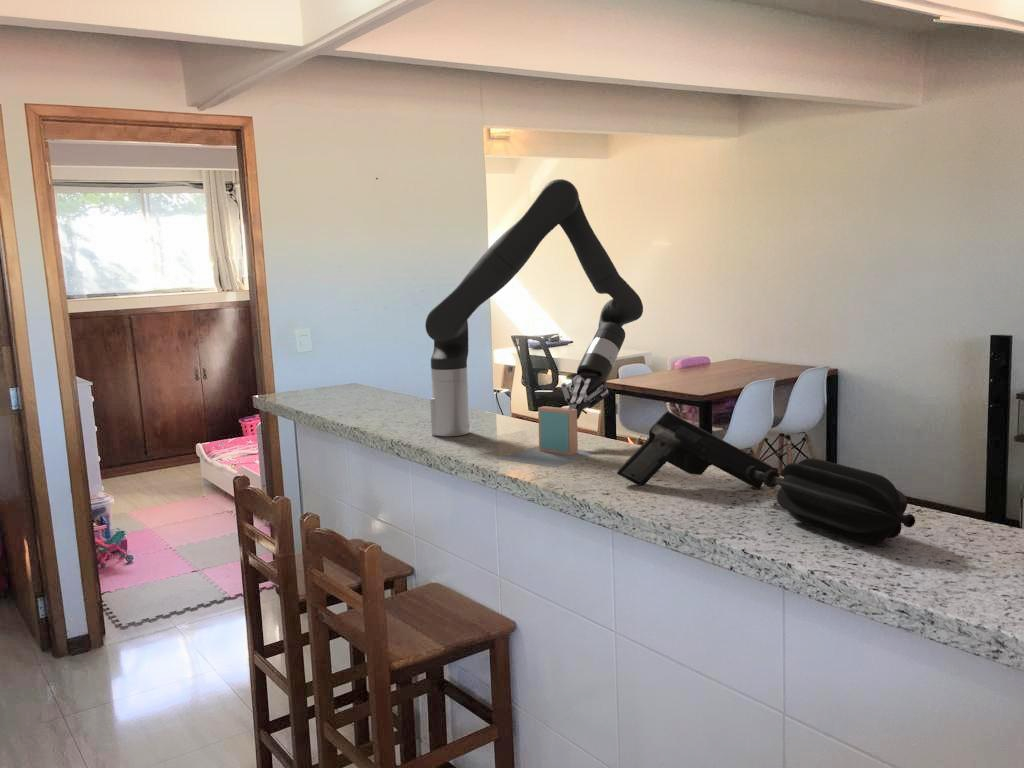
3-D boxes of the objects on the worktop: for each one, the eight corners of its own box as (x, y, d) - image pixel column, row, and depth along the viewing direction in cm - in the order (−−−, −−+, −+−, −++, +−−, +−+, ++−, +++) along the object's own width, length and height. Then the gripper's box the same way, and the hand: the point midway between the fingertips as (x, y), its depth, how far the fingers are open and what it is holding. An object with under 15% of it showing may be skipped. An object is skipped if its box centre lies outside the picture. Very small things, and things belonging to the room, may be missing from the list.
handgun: (731, 536, 157) (771, 468, 154) (616, 473, 160) (654, 405, 157) (730, 532, 159) (770, 465, 156) (617, 470, 162) (654, 403, 159)
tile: (538, 450, 192) (537, 407, 191) (545, 448, 194) (544, 406, 193) (571, 455, 187) (570, 410, 185) (577, 453, 189) (576, 409, 187)
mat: (496, 459, 186) (496, 458, 186) (541, 446, 199) (541, 444, 199) (555, 468, 176) (555, 467, 176) (599, 453, 189) (598, 452, 189)
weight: (936, 550, 119) (938, 482, 118) (884, 562, 115) (886, 491, 114) (772, 496, 150) (772, 441, 149) (727, 503, 146) (727, 447, 145)
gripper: (569, 350, 203) (540, 407, 195) (616, 352, 195) (588, 412, 187) (581, 369, 208) (554, 426, 200) (628, 372, 200) (601, 431, 192)
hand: (570, 419), depth 193 cm, fingers closed
